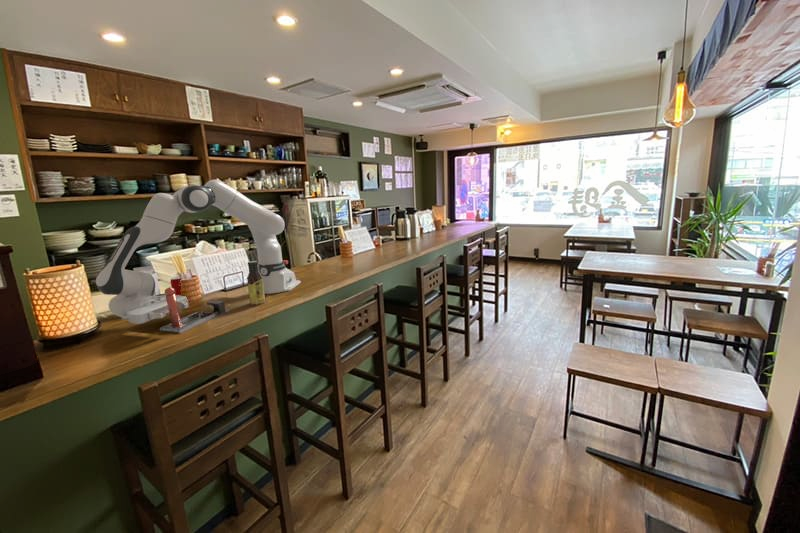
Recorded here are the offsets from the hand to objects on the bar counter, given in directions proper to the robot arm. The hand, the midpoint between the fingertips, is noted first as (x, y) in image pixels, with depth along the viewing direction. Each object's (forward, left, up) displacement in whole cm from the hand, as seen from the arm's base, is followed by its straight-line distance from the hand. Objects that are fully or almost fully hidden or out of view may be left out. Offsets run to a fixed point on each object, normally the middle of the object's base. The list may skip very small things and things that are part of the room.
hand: (175, 310), depth 127 cm
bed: (-9, -1, -9) cm, 12 cm away
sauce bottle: (-30, +10, -9) cm, 33 cm away
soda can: (-28, -32, -9) cm, 43 cm away
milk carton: (-18, -38, -9) cm, 43 cm away
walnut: (-14, -1, -7) cm, 16 cm away
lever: (0, -1, -7) cm, 7 cm away
